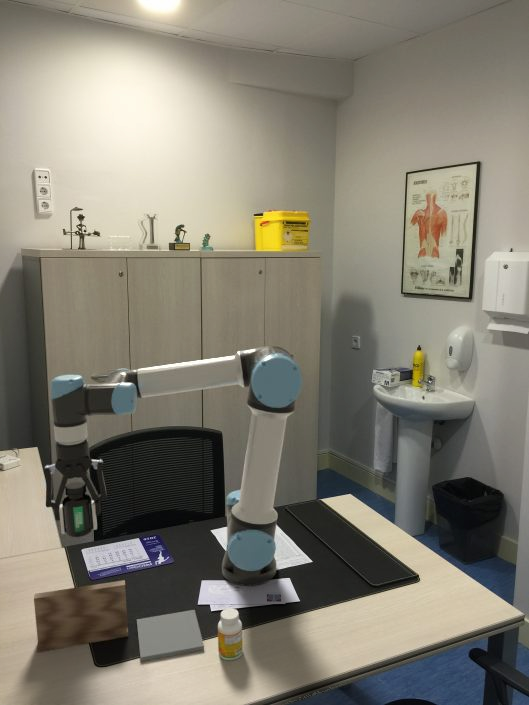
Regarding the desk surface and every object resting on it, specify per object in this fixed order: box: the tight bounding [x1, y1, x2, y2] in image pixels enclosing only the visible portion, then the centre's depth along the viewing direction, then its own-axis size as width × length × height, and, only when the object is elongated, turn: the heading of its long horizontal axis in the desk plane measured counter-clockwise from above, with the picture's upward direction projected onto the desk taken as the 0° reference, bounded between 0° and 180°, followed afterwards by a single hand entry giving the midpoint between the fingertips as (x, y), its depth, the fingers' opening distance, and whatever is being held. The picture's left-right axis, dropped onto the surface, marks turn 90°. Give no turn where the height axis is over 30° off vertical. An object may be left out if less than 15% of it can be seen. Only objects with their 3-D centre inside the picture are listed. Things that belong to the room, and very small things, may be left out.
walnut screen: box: [33, 579, 129, 653], centre depth 140 cm, size 20×6×12 cm, turn 105°
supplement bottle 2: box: [217, 607, 244, 661], centre depth 134 cm, size 5×5×10 cm
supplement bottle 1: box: [61, 481, 94, 538], centre depth 147 cm, size 7×7×12 cm
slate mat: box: [136, 609, 205, 662], centre depth 141 cm, size 14×14×1 cm
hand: (79, 529), depth 148 cm, fingers closed on supplement bottle 1, 7 cm apart
